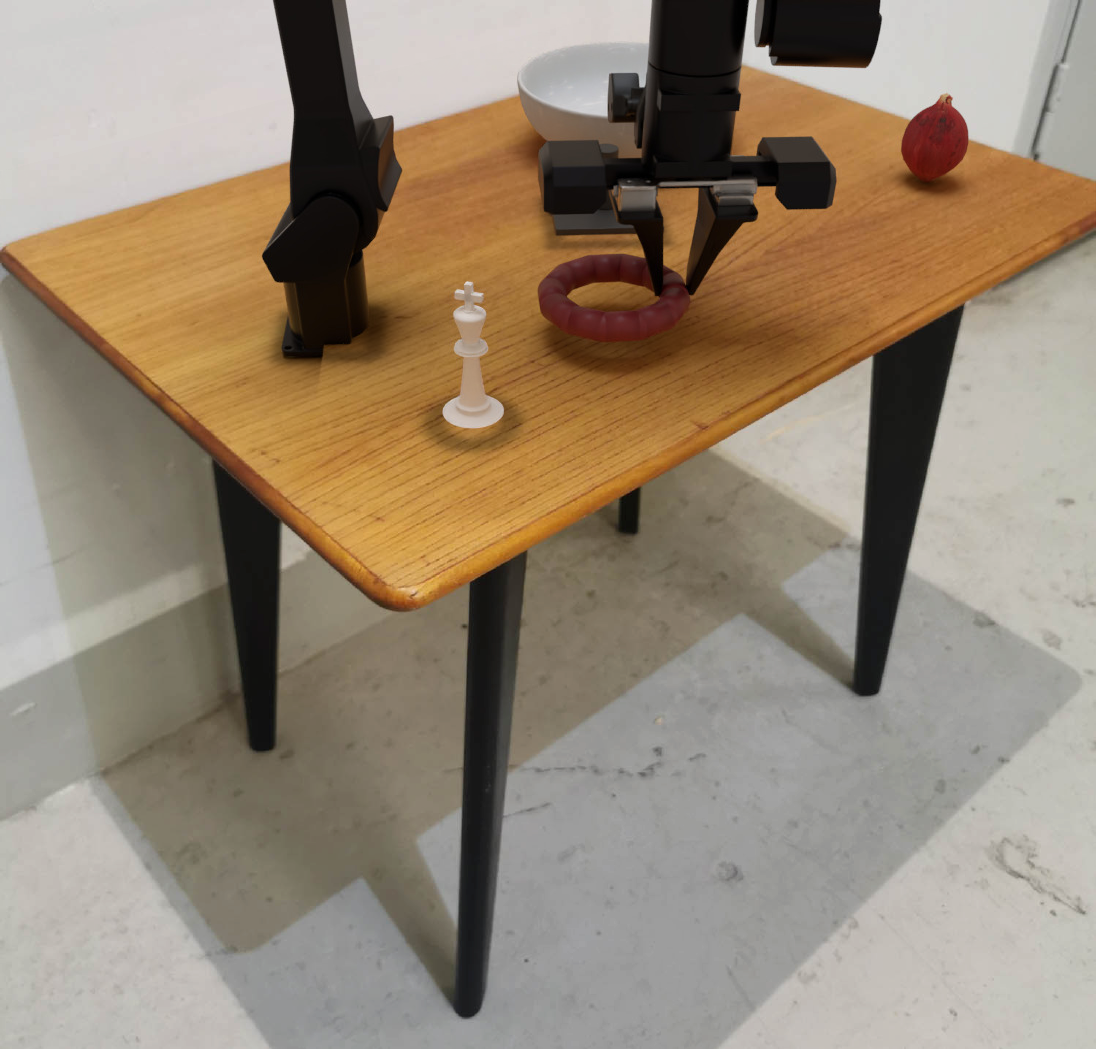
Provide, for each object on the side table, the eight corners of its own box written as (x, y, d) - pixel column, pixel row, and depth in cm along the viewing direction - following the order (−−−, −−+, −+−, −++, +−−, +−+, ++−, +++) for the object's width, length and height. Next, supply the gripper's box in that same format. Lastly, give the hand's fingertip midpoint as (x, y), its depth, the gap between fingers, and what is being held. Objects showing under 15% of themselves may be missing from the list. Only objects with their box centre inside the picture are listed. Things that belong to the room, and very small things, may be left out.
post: (663, 243, 94) (669, 168, 90) (555, 246, 93) (557, 170, 89) (647, 199, 101) (652, 127, 97) (547, 201, 100) (548, 128, 96)
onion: (955, 198, 102) (978, 109, 97) (890, 189, 103) (909, 101, 98) (959, 174, 106) (981, 88, 101) (896, 166, 107) (915, 80, 102)
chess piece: (451, 396, 76) (444, 259, 69) (521, 409, 74) (520, 271, 68) (424, 436, 72) (414, 296, 66) (497, 450, 71) (494, 308, 64)
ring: (699, 343, 75) (702, 316, 74) (544, 350, 74) (544, 324, 73) (674, 271, 83) (675, 246, 82) (533, 277, 82) (533, 252, 81)
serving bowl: (474, 142, 111) (471, 70, 106) (623, 95, 122) (627, 28, 117) (623, 209, 99) (628, 132, 95) (774, 151, 110) (784, 79, 106)
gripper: (810, 22, 75) (777, 239, 85) (532, 24, 74) (532, 245, 84) (859, 76, 67) (815, 311, 77) (545, 81, 65) (543, 318, 75)
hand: (673, 293), depth 78 cm, fingers closed on ring, 2 cm apart
